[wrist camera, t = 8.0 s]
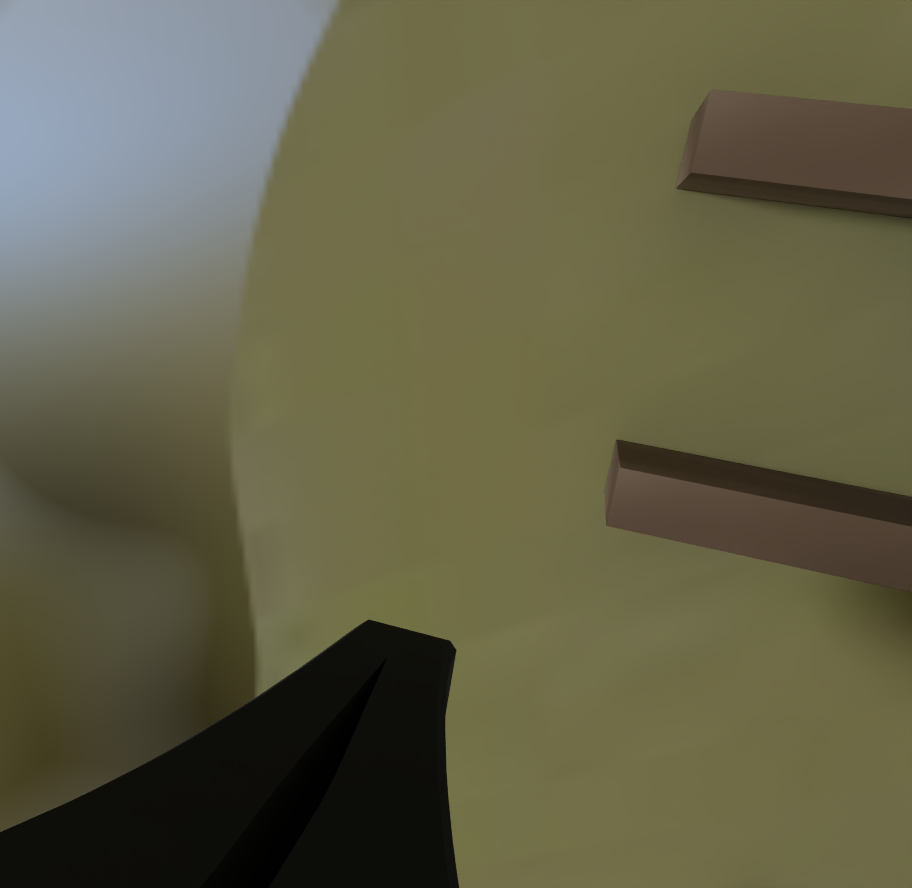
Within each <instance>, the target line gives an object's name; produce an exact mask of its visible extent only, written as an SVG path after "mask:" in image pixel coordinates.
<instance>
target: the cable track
mask: <svg viewBox="0 0 912 888" xmlns="http://www.w3.org/2000/svg"><path fill="white" fill-rule="evenodd" d="M676 189H684V190H692V191H700V192H708V193H716V194H724V195H732V196H740V197H748V198H756V199H764V200H772V201H780V202H787V203H795V204H803V205H811V206H819V207H827V208H835V209H843V210H851V211H859V212H867V213H875V214H883V215H891V216H899V217H907V218H912V109H905V108H895V107H885V106H875V105H865V104H855V103H845V102H835V101H825V100H814V99H804V98H794V97H784V96H774V95H764V94H754V93H744V92H734V91H723V90H713V89H711V91H710V92H709V94H708V95H707V97H706V98H705V100H704V101H703V103H702V105H701V106H700V108H699V109H698V111H697V112H696V114H695V115H694V117H693V118H692V121H691V125H690V129H689V133H688V138H687V142H686V146H685V150H684V155H683V159H682V163H681V167H680V172H679V176H678V180H677V184H676ZM605 510H606V526H610V527H615V528H620V529H624V530H629V531H633V532H638V533H642V534H647V535H652V536H656V537H661V538H665V539H670V540H674V541H679V542H684V543H688V544H693V545H697V546H702V547H706V548H711V549H716V550H720V551H725V552H729V553H734V554H738V555H743V556H748V557H752V558H757V559H761V560H766V561H770V562H775V563H780V564H784V565H789V566H793V567H798V568H802V569H807V570H812V571H816V572H821V573H825V574H830V575H834V576H839V577H844V578H848V579H853V580H857V581H862V582H866V583H871V584H876V585H880V586H885V587H889V588H894V589H898V590H903V591H908V592H912V497H908V496H902V495H897V494H892V493H887V492H882V491H877V490H872V489H867V488H861V487H856V486H851V485H846V484H841V483H836V482H831V481H826V480H820V479H815V478H810V477H805V476H800V475H795V474H790V473H785V472H779V471H774V470H769V469H764V468H759V467H754V466H749V465H744V464H738V463H733V462H728V461H723V460H718V459H713V458H708V457H703V456H697V455H692V454H687V453H682V452H677V451H672V450H667V449H662V448H656V447H651V446H646V445H641V444H636V443H631V442H626V441H621V440H616V444H615V448H614V452H613V456H612V461H611V465H610V469H609V473H608V478H607V482H606V486H605Z"/></svg>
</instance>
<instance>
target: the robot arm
mask: <svg viewBox="0 0 912 888" xmlns="http://www.w3.org/2000/svg"><path fill="white" fill-rule="evenodd" d="M455 655H456V649H455V647H454V646H453V644H452V643H451V641H449V640H445V639H441V638H437V637H434V636H430V635H426V634H422V633H418V632H414V631H411V630H407V629H403V628H399V627H395V626H391V625H388V624H384V623H380V622H376V621H372V620H367V621H365V622H364V623H362V624H360V625H359V626H357V627H356V628H355V629H353V630H352V631H350V632H349V633H348V634H346V635H345V636H344V637H342V638H341V639H340V640H338V641H337V642H335V643H334V644H333V645H331V646H330V647H329V648H327V649H326V650H324V651H323V652H322V653H320V654H319V655H317V656H316V657H315V658H313V659H312V660H310V661H309V662H308V663H306V664H305V665H303V666H302V667H301V668H299V669H298V670H296V671H295V672H293V673H292V674H290V675H289V676H287V677H286V678H284V679H283V680H281V681H280V682H278V683H277V684H275V685H274V686H272V687H271V688H269V689H268V690H267V691H265V692H264V693H262V694H261V695H259V696H258V697H256V698H255V699H253V700H252V701H250V702H248V703H247V704H245V705H244V706H242V707H241V708H239V709H237V710H236V711H234V712H232V713H231V714H229V715H227V716H226V717H224V718H223V719H221V720H219V721H218V722H216V723H214V724H213V725H211V726H209V727H208V728H206V729H204V730H203V731H201V732H199V733H198V734H196V735H194V736H193V737H191V738H190V739H188V740H186V741H185V742H183V743H181V744H179V745H178V746H176V747H174V748H172V749H170V750H169V751H167V752H165V753H163V754H161V755H160V756H158V757H156V758H154V759H152V760H151V761H149V762H147V763H145V764H143V765H141V766H139V767H138V768H136V769H134V770H132V771H130V772H129V773H126V774H124V775H122V776H120V777H118V778H116V779H114V780H112V781H110V782H109V783H107V784H105V785H103V786H101V787H99V788H97V789H95V790H93V791H91V792H89V793H87V794H85V795H82V796H80V797H78V798H76V799H74V800H72V801H70V802H68V803H66V804H63V805H61V806H59V807H57V808H54V809H52V810H50V811H47V812H45V813H43V814H41V815H39V816H36V817H34V818H32V819H29V820H27V821H25V822H22V823H21V824H18V825H16V826H13V827H11V828H9V829H7V830H4V831H2V832H0V888H459V884H458V877H457V870H456V863H455V855H454V847H453V839H452V830H451V820H450V810H449V800H448V787H447V772H446V741H445V714H446V708H447V702H448V696H449V690H450V685H451V679H452V673H453V667H454V661H455Z"/></svg>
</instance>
